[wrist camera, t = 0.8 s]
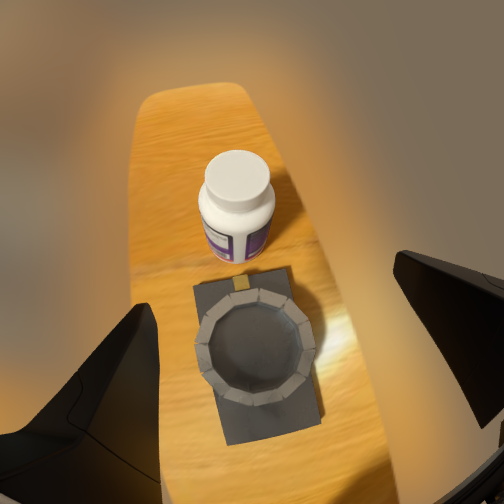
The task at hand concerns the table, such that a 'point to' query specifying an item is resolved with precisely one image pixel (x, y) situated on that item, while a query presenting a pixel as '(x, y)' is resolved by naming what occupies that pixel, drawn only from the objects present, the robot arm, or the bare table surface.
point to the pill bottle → (237, 205)
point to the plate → (257, 361)
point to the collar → (270, 300)
